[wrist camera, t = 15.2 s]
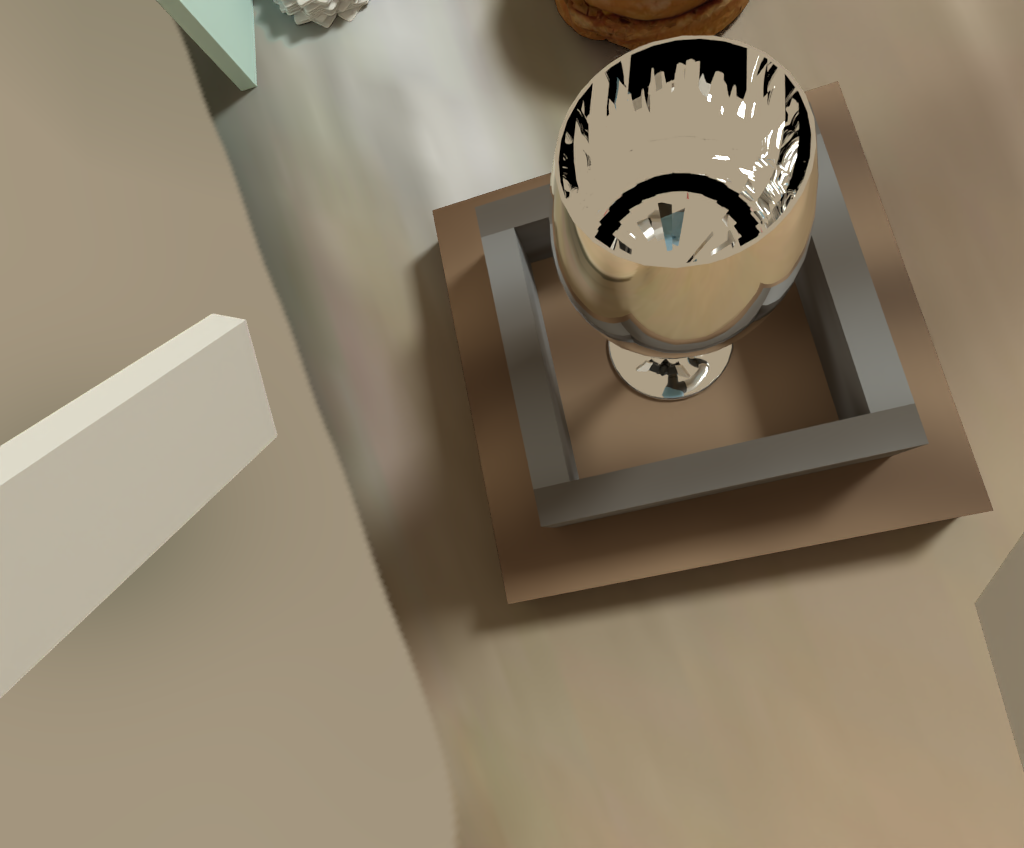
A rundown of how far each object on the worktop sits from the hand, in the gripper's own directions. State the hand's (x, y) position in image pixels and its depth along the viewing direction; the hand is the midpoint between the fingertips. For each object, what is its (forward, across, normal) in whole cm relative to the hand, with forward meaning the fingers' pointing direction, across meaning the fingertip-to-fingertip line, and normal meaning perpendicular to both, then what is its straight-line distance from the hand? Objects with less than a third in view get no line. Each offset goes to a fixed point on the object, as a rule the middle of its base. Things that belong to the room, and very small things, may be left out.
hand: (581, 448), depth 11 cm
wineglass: (+13, 0, -5) cm, 14 cm away
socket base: (+14, +1, -6) cm, 15 cm away
